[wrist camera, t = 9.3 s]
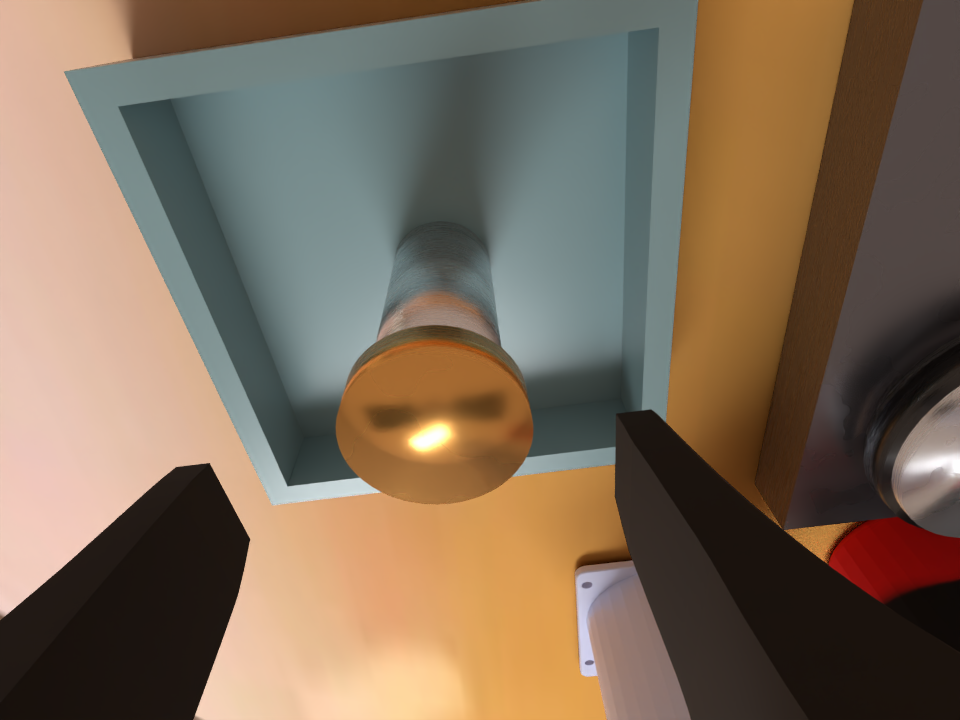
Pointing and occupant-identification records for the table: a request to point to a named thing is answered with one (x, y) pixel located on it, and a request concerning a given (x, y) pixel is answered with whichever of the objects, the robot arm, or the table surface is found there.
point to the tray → (415, 207)
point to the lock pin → (436, 379)
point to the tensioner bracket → (878, 290)
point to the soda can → (906, 573)
